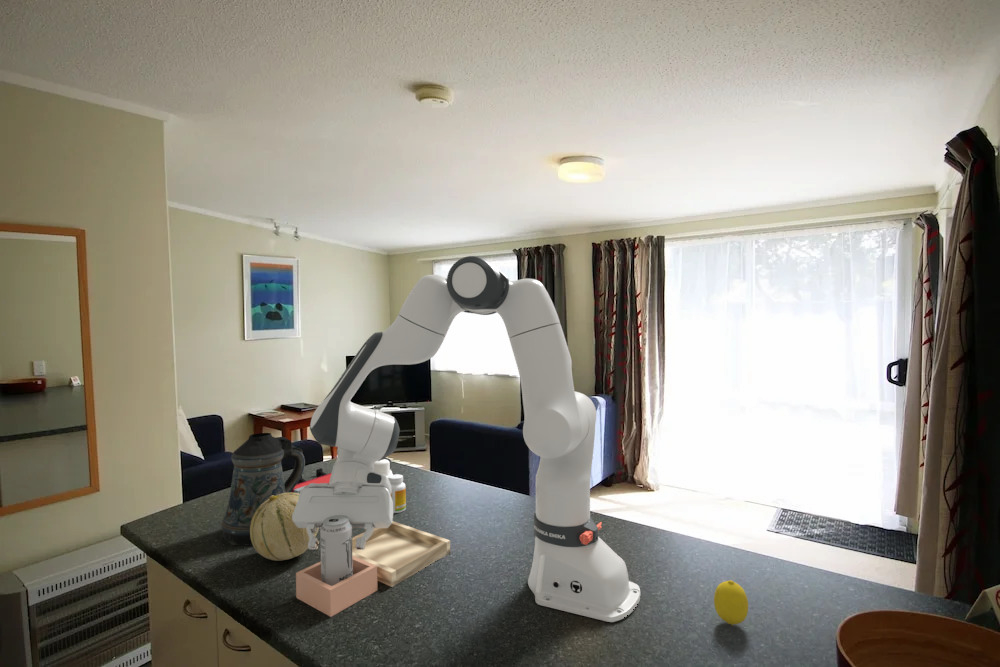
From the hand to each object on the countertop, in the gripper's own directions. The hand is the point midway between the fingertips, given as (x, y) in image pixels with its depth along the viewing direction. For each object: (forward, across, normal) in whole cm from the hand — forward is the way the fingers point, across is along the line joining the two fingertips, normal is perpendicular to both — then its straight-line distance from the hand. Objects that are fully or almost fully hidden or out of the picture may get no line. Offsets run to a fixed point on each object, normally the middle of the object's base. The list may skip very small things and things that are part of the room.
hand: (336, 548), depth 100 cm
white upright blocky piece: (-31, -4, +44) cm, 54 cm away
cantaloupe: (-4, -17, +18) cm, 25 cm away
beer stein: (-15, -30, +28) cm, 44 cm away
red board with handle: (-38, -29, +52) cm, 71 cm away
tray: (-5, +7, +18) cm, 20 cm away
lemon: (+14, +74, 0) cm, 75 cm away
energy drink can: (+7, 0, +7) cm, 9 cm away
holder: (+6, 0, +7) cm, 9 cm away
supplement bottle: (-24, +2, +38) cm, 45 cm away
